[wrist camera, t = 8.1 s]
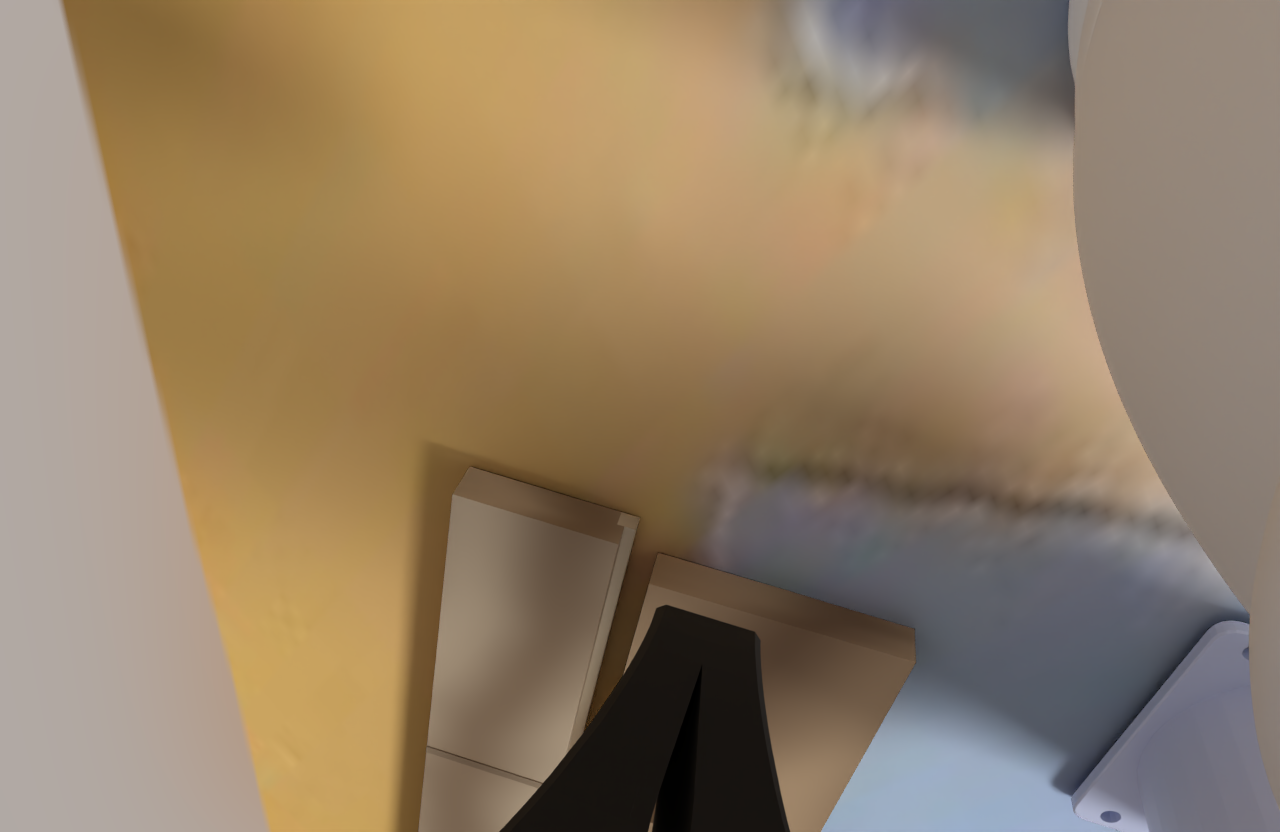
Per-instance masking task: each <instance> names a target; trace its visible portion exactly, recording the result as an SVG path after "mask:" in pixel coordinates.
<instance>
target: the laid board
mask: <svg viewBox="0 0 1280 832" xmlns="http://www.w3.org/2000/svg"><path fill="white" fill-rule="evenodd" d="M639 519H640V518H639V517H636V516H633V515H629V514H626V513H623V512H619V511H616V510H613V509H609V508H606V507H603V506H599V505H596V504H593V503H589V502H586V501H583V500H579V499H576V498H573V497H570V496H566V495H563V494H560V493H556V492H553V491H550V490H546V489H543V488H540V487H536V486H533V485H530V484H526V483H523V482H520V481H516V480H513V479H510V478H506V477H503V476H500V475H496V474H493V473H490V472H486V471H483V470H480V469H476V468H473V467H469V468H468V470H467V472H466V473H465V475H464V476H463V478H462V480H461V481H460V483H459V485H458V486H457V488H456V489H455V491H454V493H453V494H452V504H451V514H450V524H449V534H448V544H447V553H446V563H445V573H444V583H443V593H442V603H441V613H440V622H439V632H438V642H437V652H436V662H435V672H434V681H433V691H432V701H431V711H430V721H429V731H428V741H427V747H426V760H425V770H424V780H423V790H422V800H421V809H420V819H419V829H418V832H499V831H500V830H501V829H502V828H503V827H504V826H505V825H506V824H507V823H508V822H509V821H510V820H511V818H512V817H513V816H514V815H515V814H516V813H517V812H518V811H519V810H520V809H521V808H522V807H523V805H524V804H525V803H526V802H527V801H528V800H529V799H530V798H531V796H532V795H533V794H534V793H535V792H536V791H537V789H538V788H539V787H540V786H541V785H542V784H543V783H544V781H545V780H546V779H547V778H548V777H549V775H550V774H551V773H552V772H553V771H554V769H555V768H556V767H557V766H558V764H559V763H560V762H561V760H562V759H563V758H564V757H565V755H566V754H567V753H568V752H569V750H570V749H571V748H572V747H573V745H574V744H575V743H576V742H577V740H578V739H579V738H580V736H581V735H582V734H583V733H584V729H585V726H586V722H587V718H588V714H589V710H590V707H591V703H592V699H593V695H594V691H595V687H596V684H597V680H598V676H599V672H600V668H601V665H602V661H603V657H604V653H605V649H606V645H607V642H608V638H609V634H610V630H611V626H612V623H613V619H614V615H615V611H616V607H617V603H618V600H619V596H620V592H621V588H622V584H623V581H624V577H625V573H626V569H627V565H628V561H629V558H630V554H631V550H632V546H633V542H634V539H635V535H636V531H637V527H638V523H639Z"/></svg>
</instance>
